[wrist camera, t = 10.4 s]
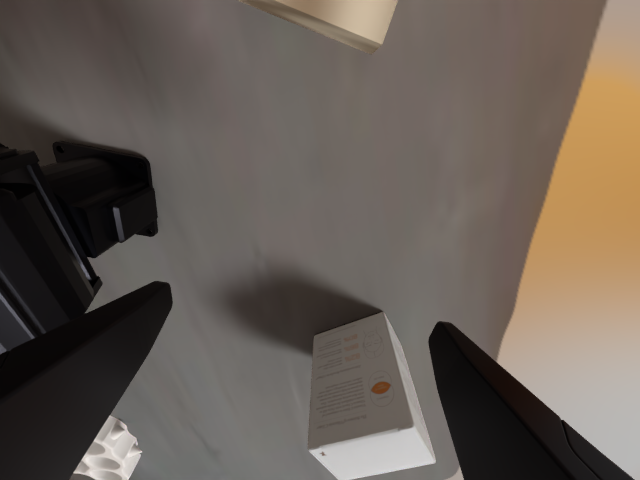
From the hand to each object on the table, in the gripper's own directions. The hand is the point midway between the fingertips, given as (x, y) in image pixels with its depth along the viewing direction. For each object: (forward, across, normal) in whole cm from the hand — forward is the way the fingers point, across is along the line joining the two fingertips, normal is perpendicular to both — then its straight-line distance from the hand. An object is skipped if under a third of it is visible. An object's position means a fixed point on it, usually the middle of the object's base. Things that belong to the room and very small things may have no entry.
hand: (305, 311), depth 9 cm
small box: (+13, -7, +16) cm, 21 cm away
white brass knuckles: (+14, +27, +42) cm, 52 cm away
